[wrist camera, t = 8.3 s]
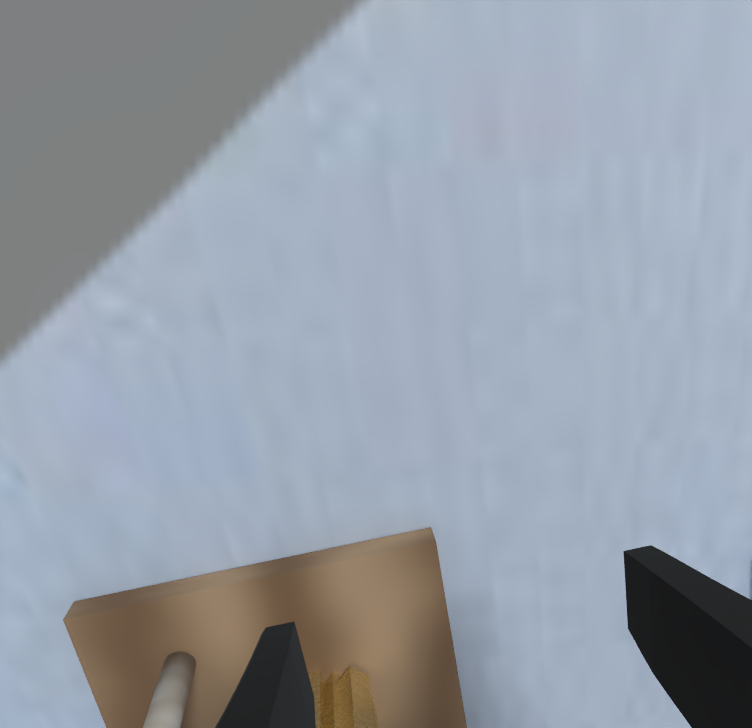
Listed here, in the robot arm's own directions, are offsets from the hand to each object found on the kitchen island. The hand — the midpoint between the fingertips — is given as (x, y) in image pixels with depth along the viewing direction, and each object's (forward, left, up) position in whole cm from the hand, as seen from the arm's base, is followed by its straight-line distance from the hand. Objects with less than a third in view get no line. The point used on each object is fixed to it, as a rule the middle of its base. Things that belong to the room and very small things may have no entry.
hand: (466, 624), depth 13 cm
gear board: (+7, +15, -10) cm, 19 cm away
